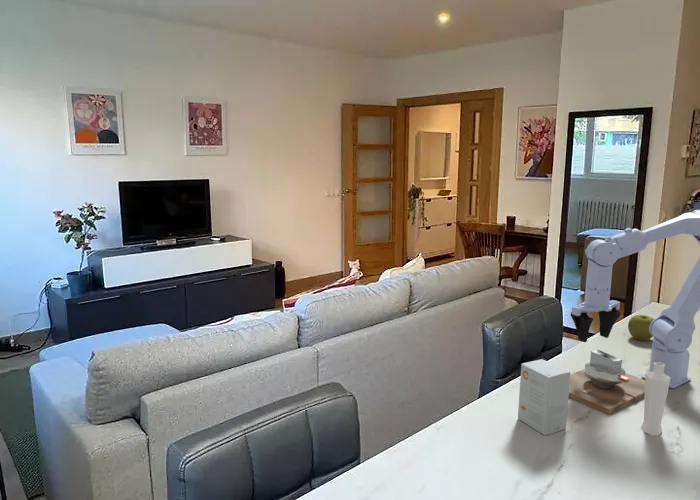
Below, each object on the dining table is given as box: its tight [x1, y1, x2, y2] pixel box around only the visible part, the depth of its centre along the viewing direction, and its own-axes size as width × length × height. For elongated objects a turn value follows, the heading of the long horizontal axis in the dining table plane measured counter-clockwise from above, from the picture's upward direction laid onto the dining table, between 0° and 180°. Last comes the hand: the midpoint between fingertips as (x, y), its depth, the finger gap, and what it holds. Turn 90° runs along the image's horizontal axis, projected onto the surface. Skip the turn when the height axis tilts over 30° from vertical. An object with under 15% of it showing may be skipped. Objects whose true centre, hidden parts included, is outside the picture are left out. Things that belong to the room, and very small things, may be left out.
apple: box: [627, 314, 655, 341], centre depth 165 cm, size 8×8×7 cm
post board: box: [568, 368, 645, 415], centre depth 131 cm, size 22×16×3 cm
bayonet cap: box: [584, 349, 629, 384], centre depth 130 cm, size 11×9×6 cm
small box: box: [517, 358, 571, 436], centre depth 114 cm, size 8×6×13 cm
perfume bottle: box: [640, 362, 671, 436], centre depth 111 cm, size 5×4×15 cm
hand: (593, 338), depth 137 cm, fingers open, 7 cm apart
